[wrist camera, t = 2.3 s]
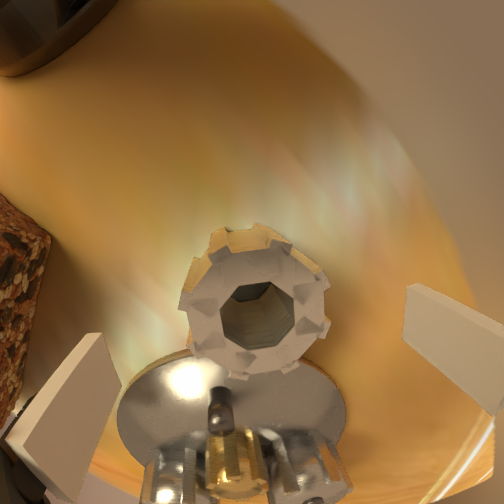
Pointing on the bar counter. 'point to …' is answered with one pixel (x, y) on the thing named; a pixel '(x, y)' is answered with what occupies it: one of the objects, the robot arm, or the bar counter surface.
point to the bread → (17, 296)
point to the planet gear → (254, 303)
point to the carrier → (234, 433)
